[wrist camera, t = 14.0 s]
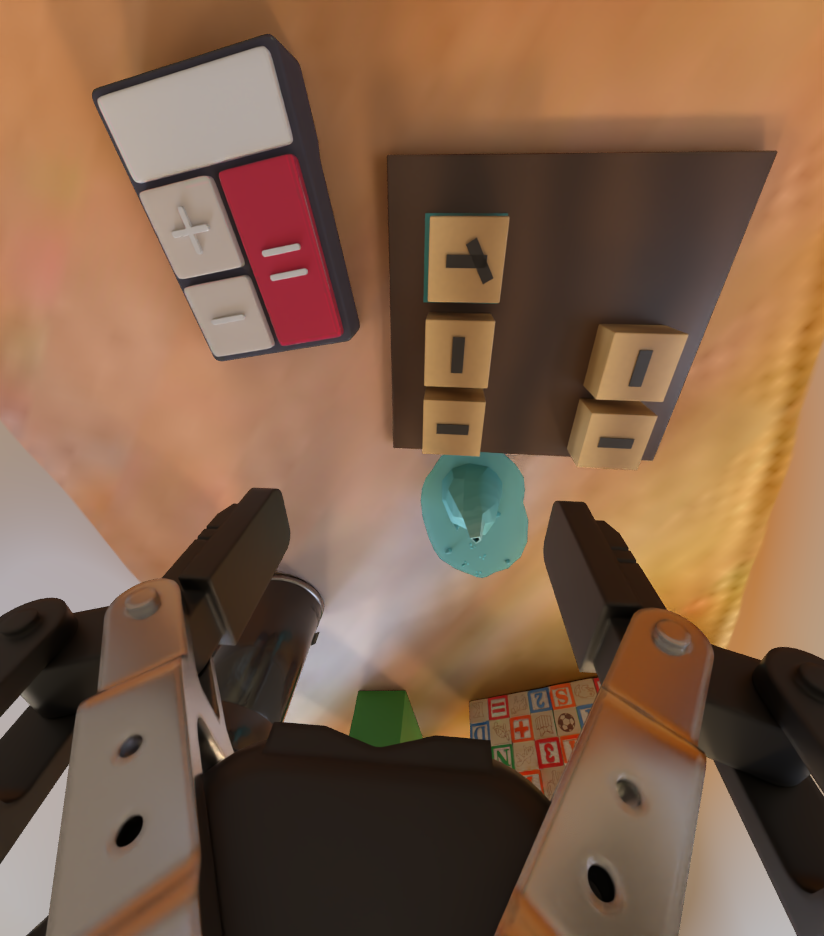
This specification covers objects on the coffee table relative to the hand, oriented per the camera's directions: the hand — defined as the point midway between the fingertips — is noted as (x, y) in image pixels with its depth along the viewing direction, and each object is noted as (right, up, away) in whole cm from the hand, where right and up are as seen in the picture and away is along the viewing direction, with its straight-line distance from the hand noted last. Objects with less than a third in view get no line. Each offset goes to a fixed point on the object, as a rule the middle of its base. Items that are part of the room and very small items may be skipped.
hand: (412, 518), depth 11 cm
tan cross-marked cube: (+3, +15, +13) cm, 21 cm away
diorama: (+6, -3, +27) cm, 28 cm away
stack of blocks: (+19, -31, +42) cm, 56 cm away
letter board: (+9, +12, +16) cm, 22 cm away
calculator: (-11, +18, +15) cm, 26 cm away
